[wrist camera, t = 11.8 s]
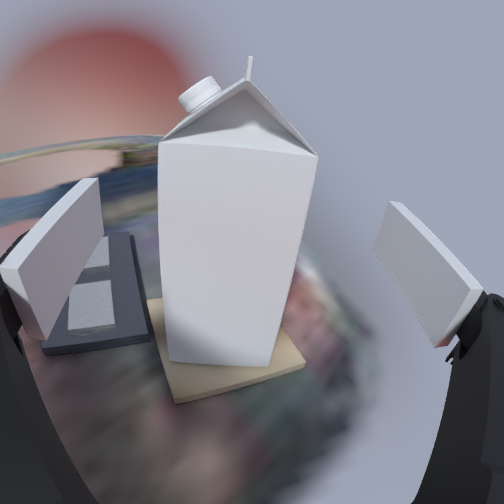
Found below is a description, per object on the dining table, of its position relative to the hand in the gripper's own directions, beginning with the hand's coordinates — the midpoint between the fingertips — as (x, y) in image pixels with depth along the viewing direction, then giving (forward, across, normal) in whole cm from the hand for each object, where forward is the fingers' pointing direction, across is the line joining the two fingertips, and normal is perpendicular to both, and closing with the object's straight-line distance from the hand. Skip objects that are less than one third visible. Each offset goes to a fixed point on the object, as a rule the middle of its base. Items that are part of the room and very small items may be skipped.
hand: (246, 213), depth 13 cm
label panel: (+10, -13, -13) cm, 21 cm away
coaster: (+5, 0, -13) cm, 14 cm away
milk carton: (+5, 0, -13) cm, 13 cm away
